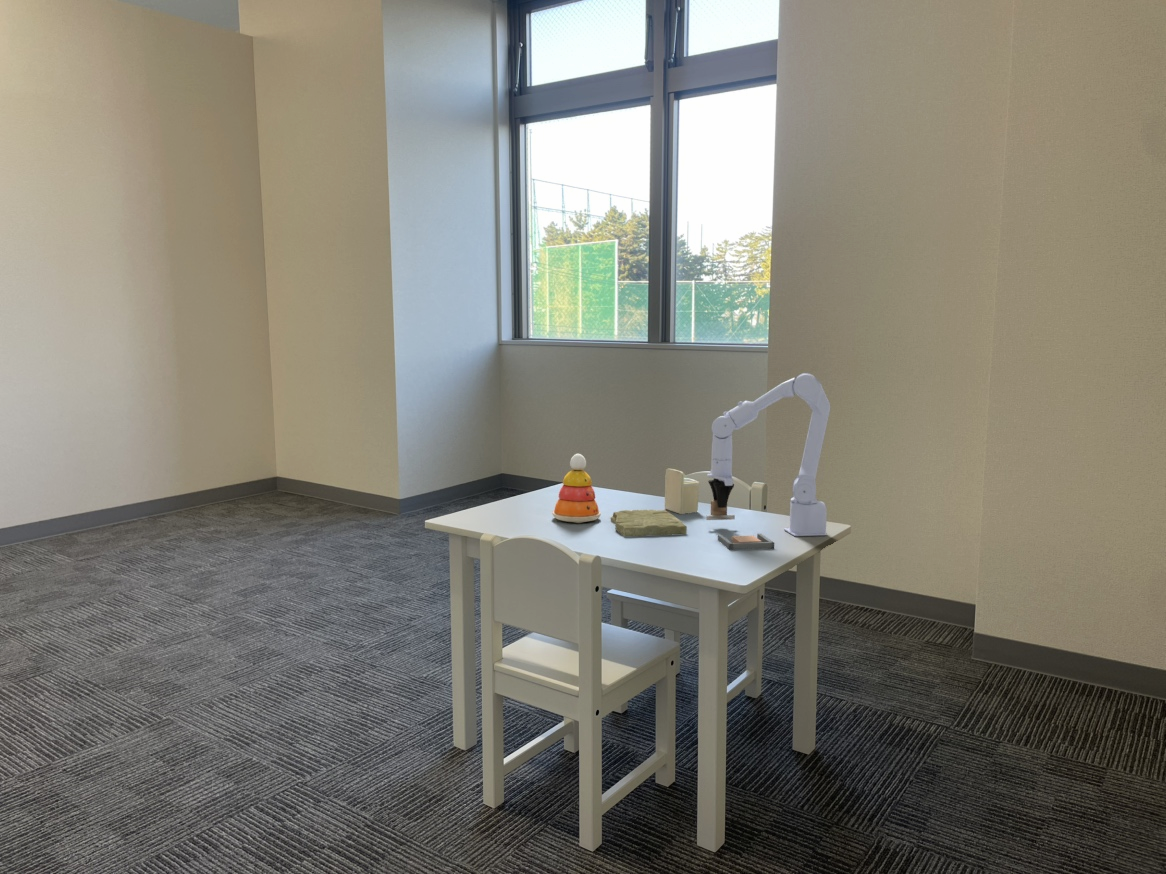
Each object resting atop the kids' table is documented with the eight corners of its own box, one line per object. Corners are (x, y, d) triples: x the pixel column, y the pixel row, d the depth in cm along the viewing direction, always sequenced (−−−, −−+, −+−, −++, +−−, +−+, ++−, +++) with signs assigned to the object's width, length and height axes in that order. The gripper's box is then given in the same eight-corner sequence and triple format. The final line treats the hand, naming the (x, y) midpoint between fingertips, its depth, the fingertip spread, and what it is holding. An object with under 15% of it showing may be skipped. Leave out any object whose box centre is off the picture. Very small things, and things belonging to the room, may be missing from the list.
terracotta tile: (753, 542, 231) (753, 535, 230) (761, 548, 225) (761, 541, 224) (731, 543, 230) (731, 536, 229) (739, 549, 224) (739, 541, 224)
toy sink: (700, 512, 266) (701, 470, 264) (680, 514, 262) (681, 472, 260) (683, 507, 273) (684, 466, 271) (664, 509, 269) (665, 467, 268)
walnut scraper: (730, 516, 247) (731, 499, 246) (734, 519, 244) (735, 501, 243) (703, 517, 246) (704, 500, 245) (707, 520, 243) (707, 502, 242)
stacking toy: (581, 527, 245) (581, 459, 242) (542, 520, 253) (542, 454, 251) (610, 518, 256) (611, 453, 253) (572, 512, 264) (572, 449, 262)
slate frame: (760, 540, 233) (760, 533, 233) (774, 550, 223) (774, 542, 223) (717, 542, 231) (717, 534, 231) (729, 551, 221) (729, 544, 221)
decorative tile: (666, 519, 257) (666, 508, 257) (687, 536, 238) (687, 523, 237) (605, 522, 253) (605, 510, 253) (621, 539, 234) (621, 526, 234)
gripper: (700, 455, 250) (699, 501, 251) (715, 463, 235) (714, 512, 237) (724, 454, 251) (722, 500, 252) (740, 462, 236) (739, 511, 238)
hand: (720, 506), depth 245 cm, fingers closed on walnut scraper, 2 cm apart
